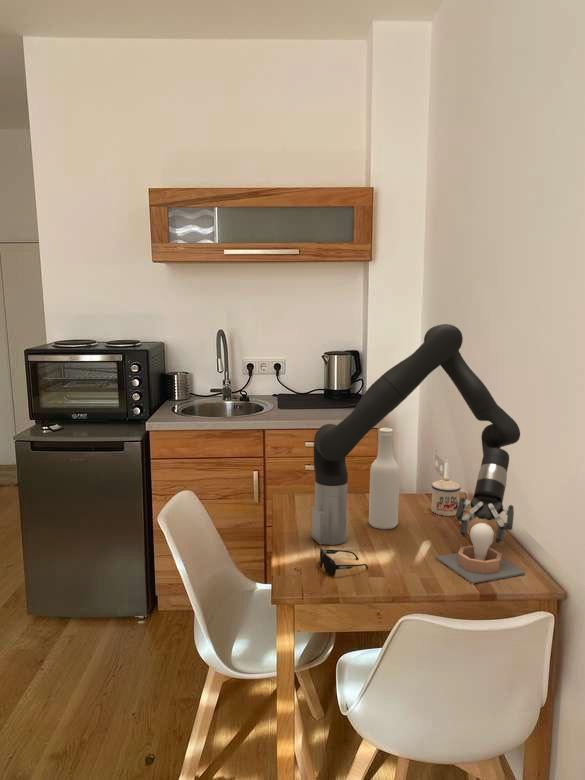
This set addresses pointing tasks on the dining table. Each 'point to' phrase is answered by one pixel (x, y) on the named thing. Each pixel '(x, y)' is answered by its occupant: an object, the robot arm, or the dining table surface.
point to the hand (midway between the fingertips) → (480, 538)
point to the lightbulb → (481, 539)
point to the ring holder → (479, 565)
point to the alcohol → (384, 485)
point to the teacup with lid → (446, 497)
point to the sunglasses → (330, 564)
